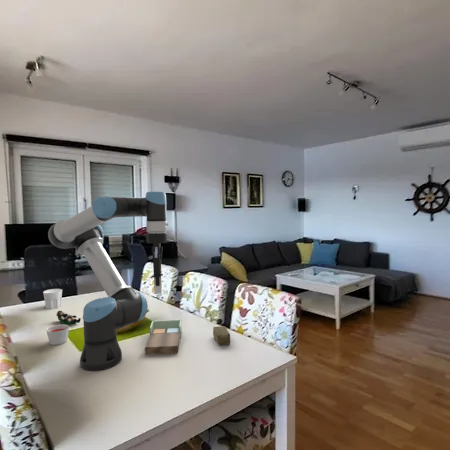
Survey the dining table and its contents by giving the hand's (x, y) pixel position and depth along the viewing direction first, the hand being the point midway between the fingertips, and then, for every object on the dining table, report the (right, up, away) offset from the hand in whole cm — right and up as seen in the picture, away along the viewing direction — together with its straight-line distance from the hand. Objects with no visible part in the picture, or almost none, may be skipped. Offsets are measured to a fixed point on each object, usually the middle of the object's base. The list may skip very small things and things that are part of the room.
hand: (157, 293), depth 126 cm
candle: (-48, -26, +19) cm, 58 cm away
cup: (-77, -23, +71) cm, 107 cm away
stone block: (+24, -25, +18) cm, 39 cm away
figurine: (-55, -25, +43) cm, 74 cm away
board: (0, -25, +13) cm, 28 cm away
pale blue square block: (+2, -24, +23) cm, 33 cm away
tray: (-1, -25, +25) cm, 35 cm away
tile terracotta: (-4, -24, +22) cm, 33 cm away
